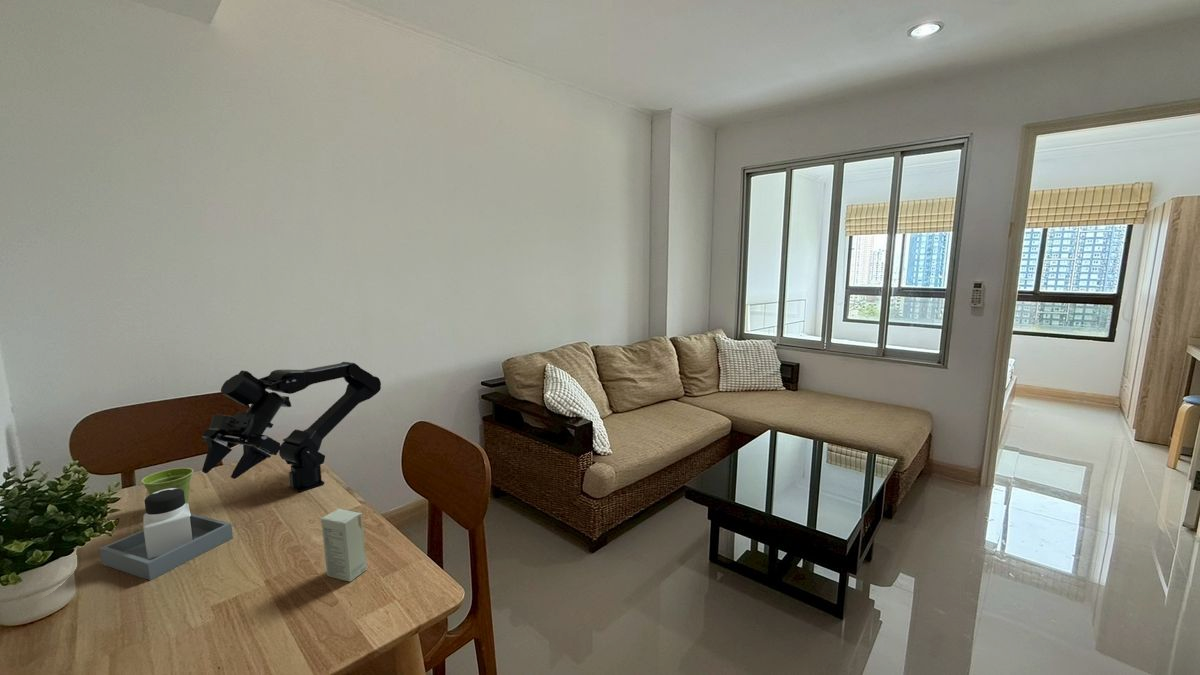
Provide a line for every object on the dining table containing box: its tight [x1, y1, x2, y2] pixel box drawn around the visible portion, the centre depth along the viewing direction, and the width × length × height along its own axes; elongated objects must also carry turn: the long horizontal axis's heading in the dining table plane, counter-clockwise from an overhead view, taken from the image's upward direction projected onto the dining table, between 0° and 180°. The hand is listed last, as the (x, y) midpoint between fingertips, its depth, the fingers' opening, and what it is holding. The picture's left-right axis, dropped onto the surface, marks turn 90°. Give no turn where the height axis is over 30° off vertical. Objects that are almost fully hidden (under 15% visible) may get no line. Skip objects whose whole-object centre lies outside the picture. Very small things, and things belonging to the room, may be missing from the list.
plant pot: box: [140, 467, 194, 504], centre depth 115 cm, size 9×9×9 cm
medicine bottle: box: [142, 488, 194, 559], centre depth 97 cm, size 7×7×12 cm
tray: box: [99, 512, 234, 581], centre depth 98 cm, size 15×15×4 cm
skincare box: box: [320, 507, 368, 582], centre depth 91 cm, size 6×4×12 cm
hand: (218, 475), depth 107 cm, fingers open, 9 cm apart
